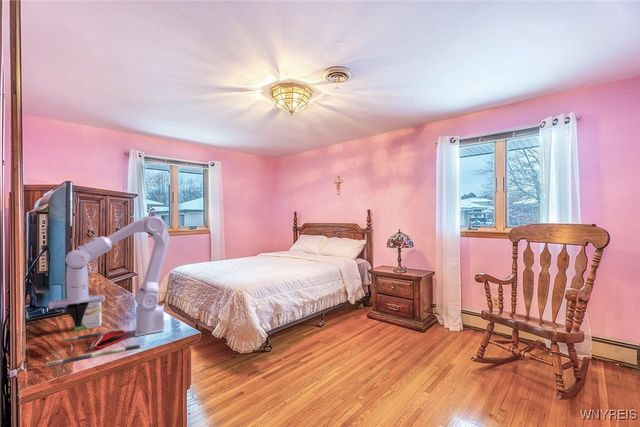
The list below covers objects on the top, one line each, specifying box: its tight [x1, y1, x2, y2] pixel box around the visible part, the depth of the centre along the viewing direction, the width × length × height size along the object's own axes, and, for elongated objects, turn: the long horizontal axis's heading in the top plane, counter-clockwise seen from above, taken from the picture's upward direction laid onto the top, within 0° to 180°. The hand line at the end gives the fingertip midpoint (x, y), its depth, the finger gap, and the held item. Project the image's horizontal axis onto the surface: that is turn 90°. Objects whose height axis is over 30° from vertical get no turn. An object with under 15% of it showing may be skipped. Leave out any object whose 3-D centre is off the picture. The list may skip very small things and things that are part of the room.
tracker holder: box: [89, 329, 126, 350], centre depth 105 cm, size 12×4×10 cm
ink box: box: [73, 294, 102, 332], centre depth 120 cm, size 8×5×12 cm, turn 122°
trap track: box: [44, 328, 141, 368], centre depth 104 cm, size 24×21×1 cm
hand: (78, 326), depth 101 cm, fingers closed
